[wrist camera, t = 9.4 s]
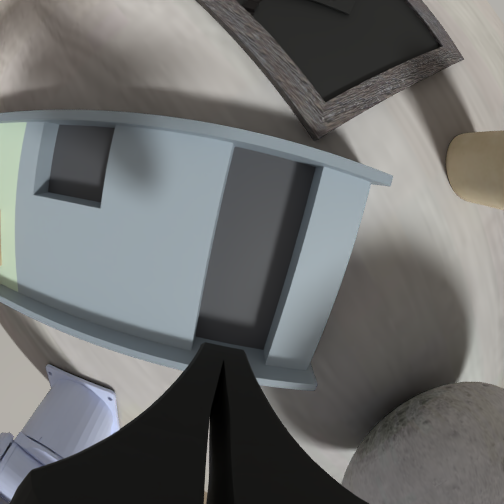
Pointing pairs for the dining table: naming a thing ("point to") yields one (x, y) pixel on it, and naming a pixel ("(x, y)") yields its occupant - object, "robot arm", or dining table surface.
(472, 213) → the dining table surface
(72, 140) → the tray
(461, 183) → the candle
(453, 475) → the moon model
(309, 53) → the picture frame
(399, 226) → the dining table surface
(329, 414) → the dining table surface
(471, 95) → the dining table surface
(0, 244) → the maple block
